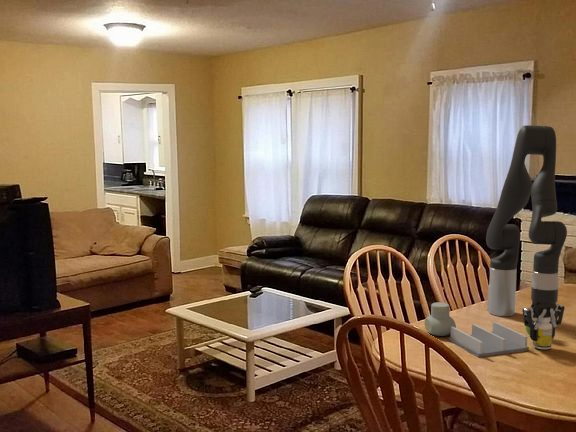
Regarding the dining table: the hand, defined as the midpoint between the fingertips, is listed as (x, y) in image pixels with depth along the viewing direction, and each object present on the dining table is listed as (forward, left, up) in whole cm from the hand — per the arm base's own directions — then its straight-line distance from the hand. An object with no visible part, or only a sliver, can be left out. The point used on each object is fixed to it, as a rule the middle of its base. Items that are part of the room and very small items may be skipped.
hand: (542, 339), depth 187 cm
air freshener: (-23, -22, -3) cm, 32 cm away
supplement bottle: (0, 0, -3) cm, 3 cm away
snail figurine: (-11, +6, -3) cm, 13 cm away
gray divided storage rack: (-8, -14, -3) cm, 16 cm away
